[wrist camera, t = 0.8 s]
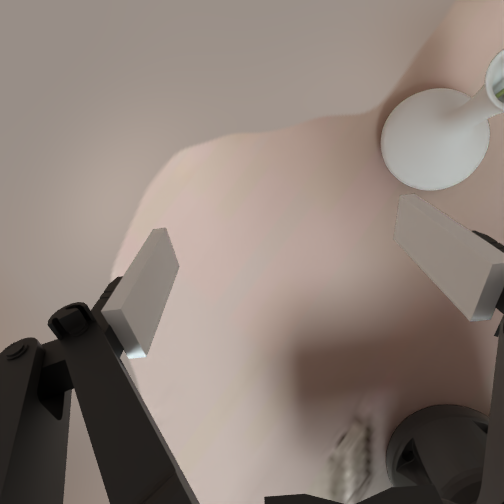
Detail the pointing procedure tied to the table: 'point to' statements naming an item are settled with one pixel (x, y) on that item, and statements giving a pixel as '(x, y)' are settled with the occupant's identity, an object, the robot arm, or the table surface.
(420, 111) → the flower in vase
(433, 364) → the table surface
